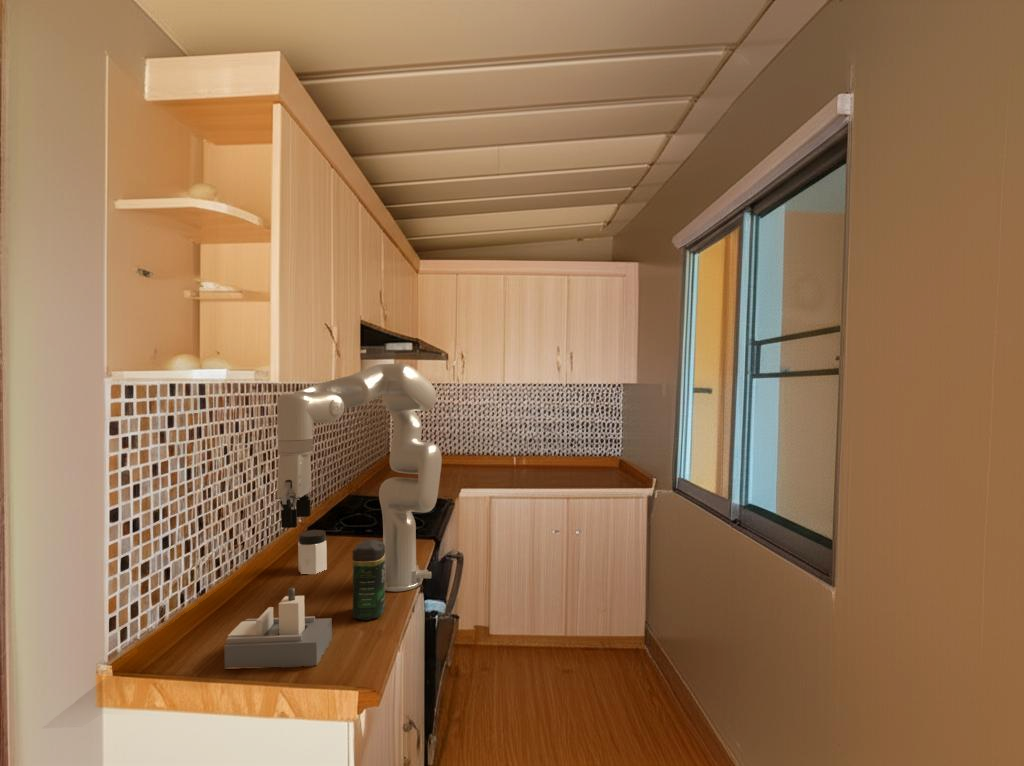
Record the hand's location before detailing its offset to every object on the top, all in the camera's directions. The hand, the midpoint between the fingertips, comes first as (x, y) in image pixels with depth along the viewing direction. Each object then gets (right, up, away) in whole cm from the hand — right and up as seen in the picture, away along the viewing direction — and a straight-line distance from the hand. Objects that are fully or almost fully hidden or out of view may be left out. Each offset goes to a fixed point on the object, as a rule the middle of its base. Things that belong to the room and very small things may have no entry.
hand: (296, 521), depth 126 cm
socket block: (-2, -28, -4) cm, 29 cm away
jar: (-15, -29, +50) cm, 60 cm away
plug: (+1, -28, -4) cm, 29 cm away
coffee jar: (+12, -28, +17) cm, 35 cm away
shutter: (-8, -23, -4) cm, 25 cm away
